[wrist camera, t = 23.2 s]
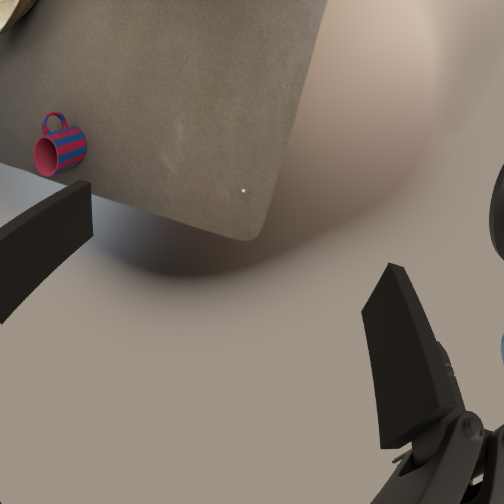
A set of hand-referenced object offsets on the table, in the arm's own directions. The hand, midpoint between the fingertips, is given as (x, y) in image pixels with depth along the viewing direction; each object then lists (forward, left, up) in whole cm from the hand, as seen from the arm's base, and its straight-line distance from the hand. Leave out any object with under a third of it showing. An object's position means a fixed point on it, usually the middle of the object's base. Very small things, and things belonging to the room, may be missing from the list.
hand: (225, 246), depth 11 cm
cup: (+33, +4, -27) cm, 43 cm away
